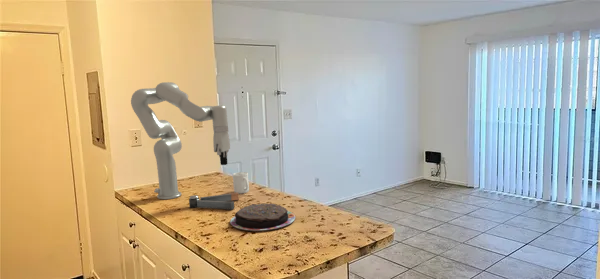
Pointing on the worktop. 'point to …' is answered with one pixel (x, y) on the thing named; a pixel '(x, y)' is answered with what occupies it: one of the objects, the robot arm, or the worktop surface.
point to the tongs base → (211, 204)
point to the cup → (241, 182)
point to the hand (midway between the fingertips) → (224, 164)
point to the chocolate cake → (262, 218)
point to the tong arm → (218, 197)
